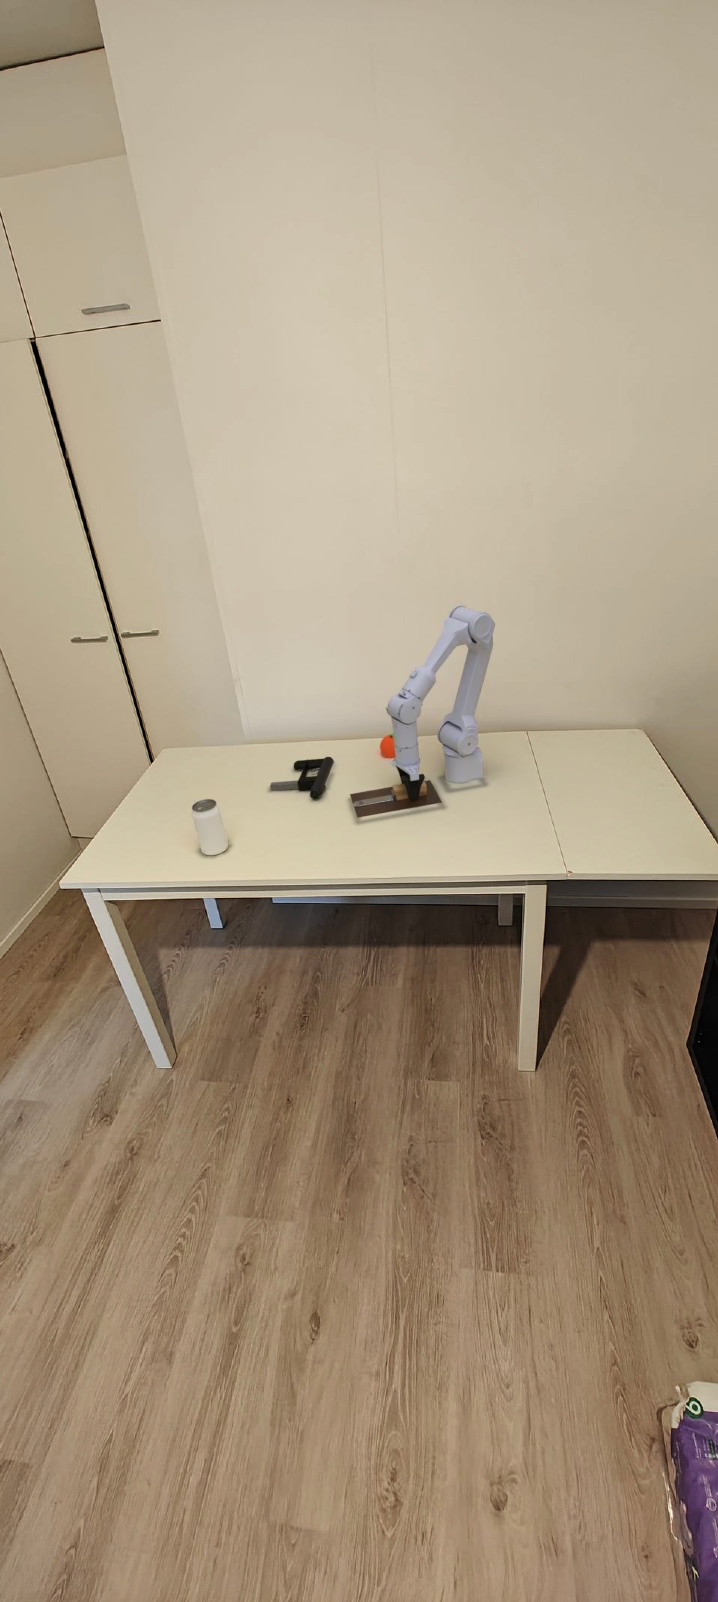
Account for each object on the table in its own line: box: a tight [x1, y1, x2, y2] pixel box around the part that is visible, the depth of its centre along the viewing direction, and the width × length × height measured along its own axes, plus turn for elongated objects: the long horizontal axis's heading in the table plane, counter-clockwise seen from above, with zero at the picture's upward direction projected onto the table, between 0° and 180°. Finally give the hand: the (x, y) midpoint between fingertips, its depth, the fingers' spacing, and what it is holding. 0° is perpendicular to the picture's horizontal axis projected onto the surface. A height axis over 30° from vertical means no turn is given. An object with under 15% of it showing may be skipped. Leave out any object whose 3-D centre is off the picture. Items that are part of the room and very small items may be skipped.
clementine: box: [379, 733, 396, 759], centre depth 197 cm, size 8×7×7 cm
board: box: [349, 779, 443, 819], centre depth 177 cm, size 21×12×2 cm, turn 99°
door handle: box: [269, 756, 335, 800], centre depth 191 cm, size 3×20×16 cm
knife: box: [353, 780, 427, 807], centre depth 176 cm, size 18×3×3 cm, turn 99°
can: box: [191, 798, 229, 857], centre depth 165 cm, size 6×6×12 cm
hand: (410, 792), depth 176 cm, fingers open, 7 cm apart
